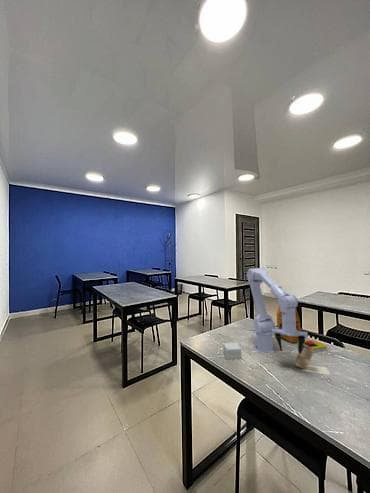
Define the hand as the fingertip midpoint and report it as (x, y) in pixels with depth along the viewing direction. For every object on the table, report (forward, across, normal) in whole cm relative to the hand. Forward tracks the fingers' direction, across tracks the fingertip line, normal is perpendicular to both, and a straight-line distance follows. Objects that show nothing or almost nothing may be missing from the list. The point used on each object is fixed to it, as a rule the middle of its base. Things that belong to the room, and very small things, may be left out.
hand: (290, 351), depth 99 cm
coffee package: (+7, +2, +32) cm, 33 cm away
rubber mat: (+7, +6, 0) cm, 9 cm away
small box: (+7, -27, +2) cm, 28 cm away
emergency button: (+8, +12, +22) cm, 26 cm away
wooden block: (+6, +4, 0) cm, 7 cm away
